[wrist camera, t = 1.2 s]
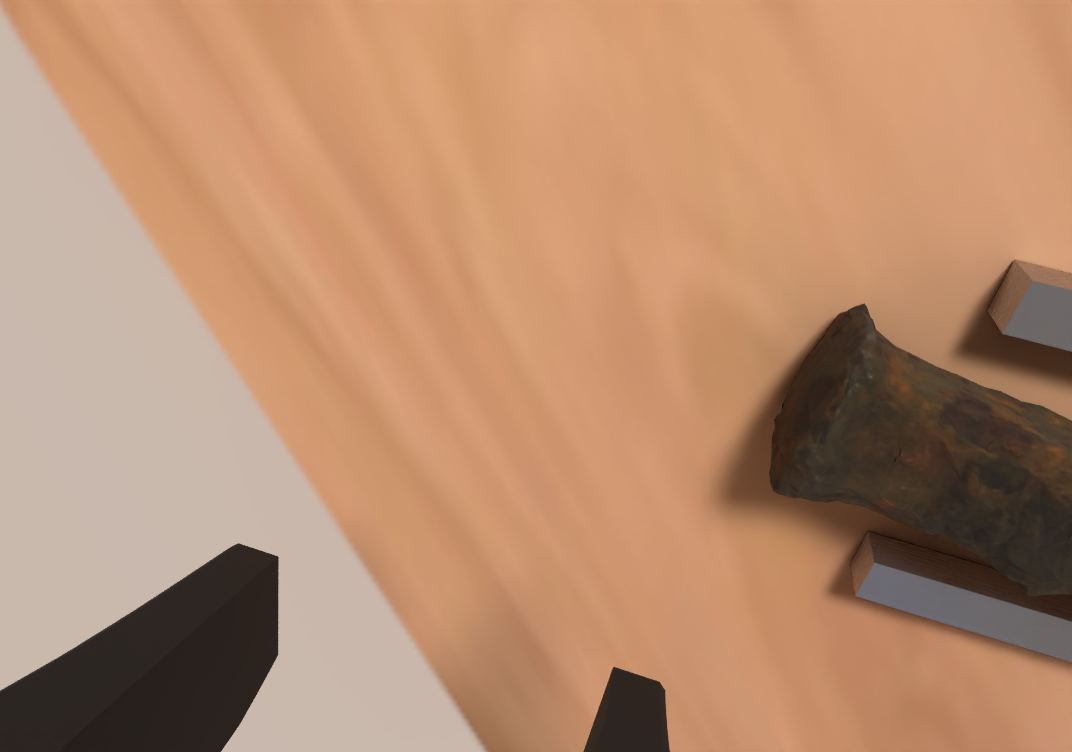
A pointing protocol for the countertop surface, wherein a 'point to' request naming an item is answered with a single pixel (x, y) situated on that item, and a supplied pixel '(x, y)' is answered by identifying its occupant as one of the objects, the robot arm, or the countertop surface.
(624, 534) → the countertop surface
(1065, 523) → the dark brown log
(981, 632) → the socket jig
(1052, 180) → the countertop surface
